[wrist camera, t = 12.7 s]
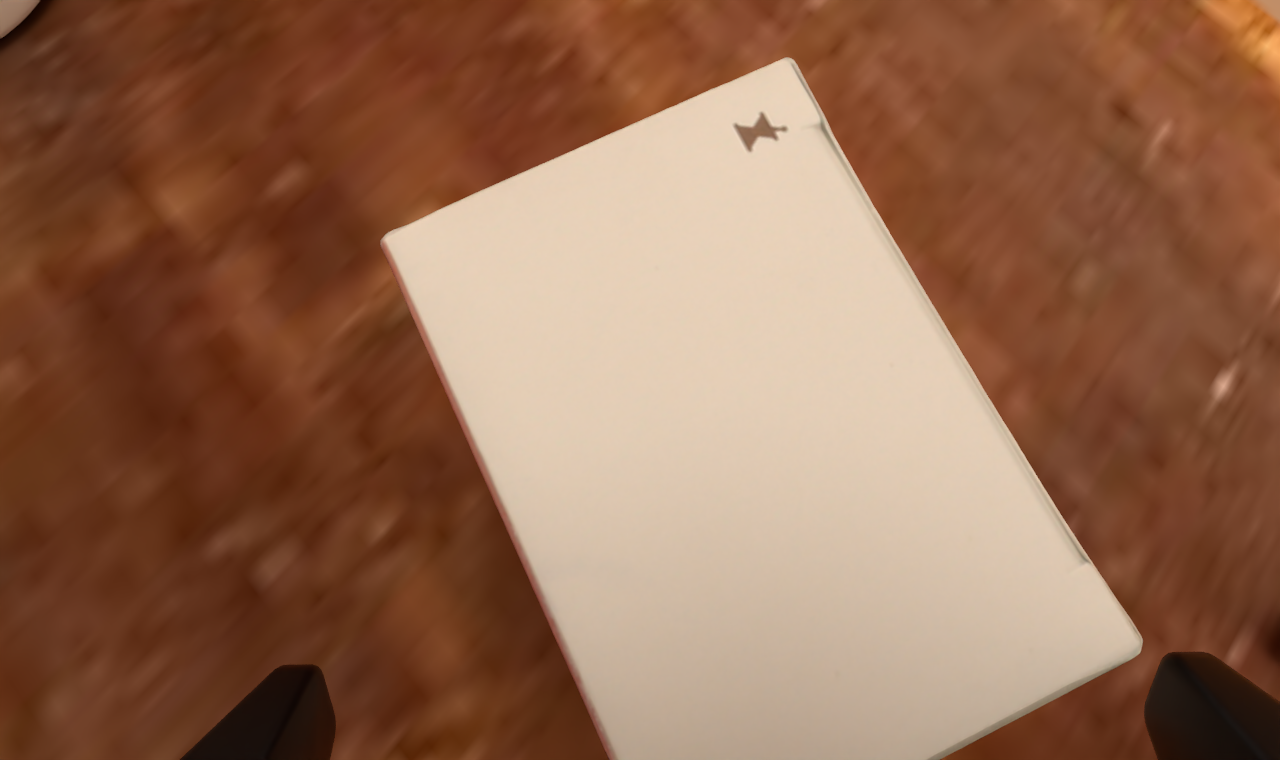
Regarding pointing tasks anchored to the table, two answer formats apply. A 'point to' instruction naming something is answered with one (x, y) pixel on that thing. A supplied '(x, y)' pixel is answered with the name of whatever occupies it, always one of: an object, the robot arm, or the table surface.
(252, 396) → the table surface
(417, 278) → the small box
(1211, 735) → the robot arm
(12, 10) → the bath foam
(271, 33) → the table surface
